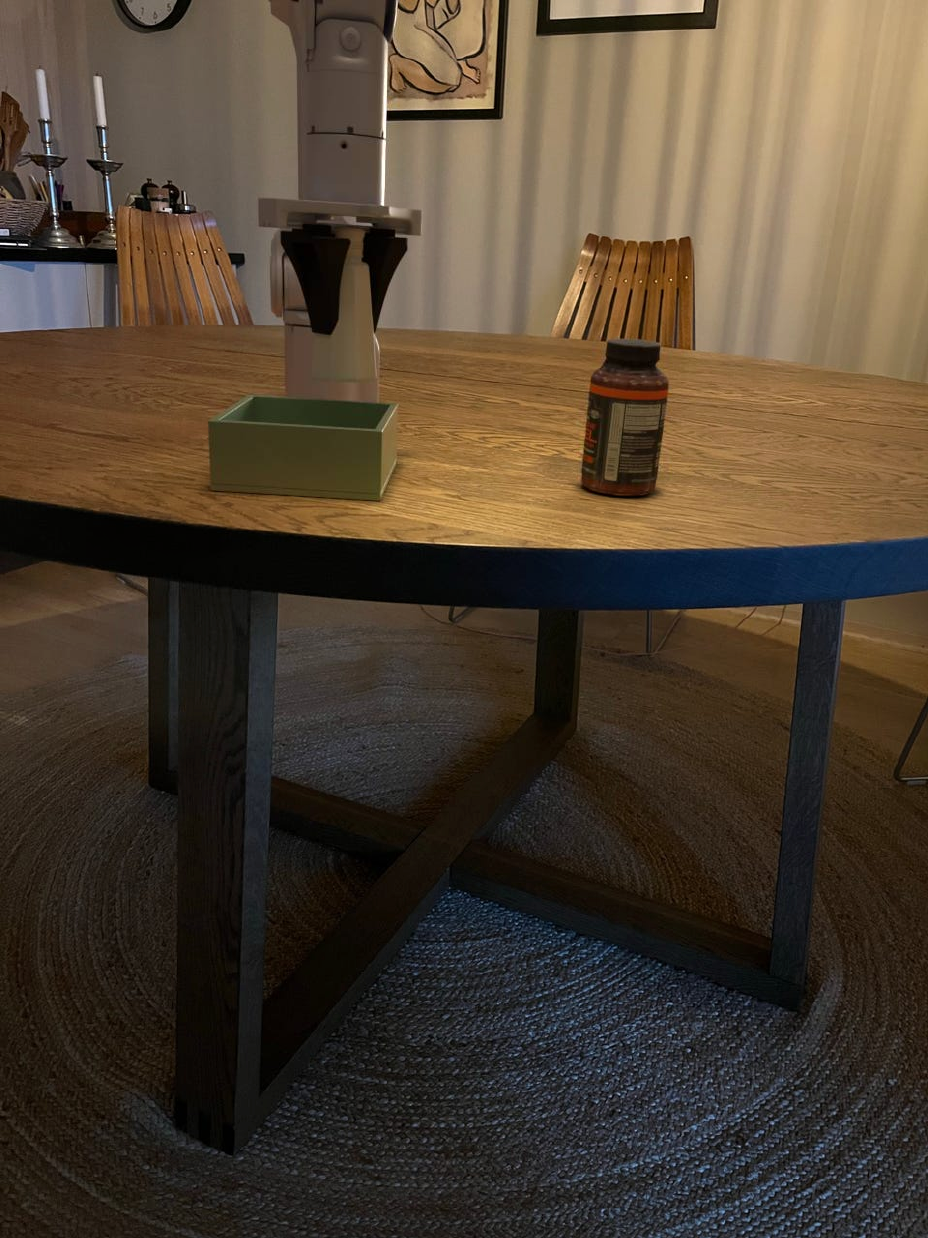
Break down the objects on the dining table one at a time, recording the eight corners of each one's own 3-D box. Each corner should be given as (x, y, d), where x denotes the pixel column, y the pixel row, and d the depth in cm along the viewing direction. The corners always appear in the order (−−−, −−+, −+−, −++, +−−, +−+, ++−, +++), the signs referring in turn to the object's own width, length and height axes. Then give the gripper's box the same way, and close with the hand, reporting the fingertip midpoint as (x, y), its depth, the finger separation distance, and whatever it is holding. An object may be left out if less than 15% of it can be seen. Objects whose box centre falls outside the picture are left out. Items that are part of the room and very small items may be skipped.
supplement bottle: (573, 478, 81) (586, 334, 77) (644, 481, 82) (662, 338, 78) (587, 497, 76) (603, 343, 71) (664, 499, 76) (684, 347, 72)
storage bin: (249, 455, 83) (248, 394, 81) (396, 464, 82) (398, 403, 81) (210, 490, 71) (207, 420, 69) (380, 501, 71) (382, 430, 69)
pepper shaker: (389, 377, 80) (393, 229, 76) (361, 385, 75) (364, 227, 71) (328, 370, 81) (329, 225, 77) (297, 378, 76) (296, 223, 72)
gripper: (304, 124, 64) (304, 341, 69) (454, 147, 75) (445, 334, 80) (237, 127, 69) (242, 331, 74) (388, 148, 79) (383, 326, 84)
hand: (343, 332), depth 77 cm, fingers closed on pepper shaker, 3 cm apart
